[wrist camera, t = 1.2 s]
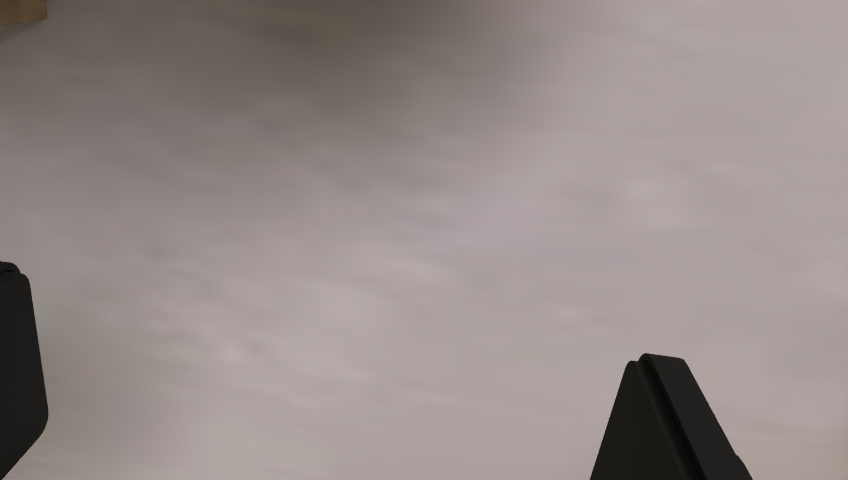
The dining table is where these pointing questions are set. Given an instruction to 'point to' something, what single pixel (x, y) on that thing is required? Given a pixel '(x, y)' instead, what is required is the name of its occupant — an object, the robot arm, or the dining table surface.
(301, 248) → the dining table surface
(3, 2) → the walnut base block
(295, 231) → the dining table surface
